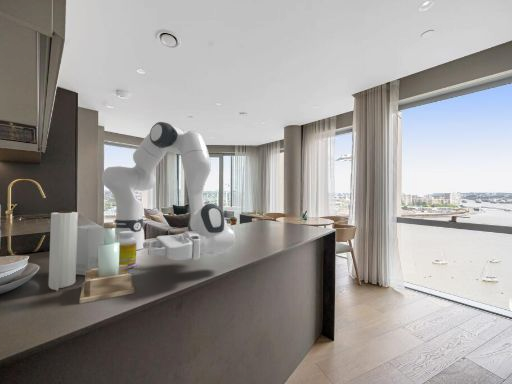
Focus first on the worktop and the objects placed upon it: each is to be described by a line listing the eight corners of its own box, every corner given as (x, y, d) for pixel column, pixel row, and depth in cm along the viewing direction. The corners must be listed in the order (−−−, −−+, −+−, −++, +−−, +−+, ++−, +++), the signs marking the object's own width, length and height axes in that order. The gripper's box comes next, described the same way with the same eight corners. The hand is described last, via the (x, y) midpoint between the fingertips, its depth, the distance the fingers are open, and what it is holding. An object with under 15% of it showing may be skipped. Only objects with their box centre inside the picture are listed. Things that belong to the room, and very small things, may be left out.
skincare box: (104, 270, 80) (106, 225, 80) (86, 276, 74) (87, 228, 74) (86, 267, 83) (87, 224, 83) (67, 273, 76) (68, 226, 76)
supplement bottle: (138, 267, 85) (139, 232, 85) (118, 271, 80) (119, 234, 80) (132, 263, 89) (133, 230, 90) (112, 266, 85) (114, 231, 85)
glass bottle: (93, 287, 64) (95, 223, 64) (111, 281, 69) (113, 221, 69) (104, 291, 62) (106, 224, 62) (122, 284, 66) (123, 222, 66)
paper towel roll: (62, 280, 71) (65, 210, 71) (80, 281, 70) (83, 211, 70) (38, 290, 63) (40, 212, 64) (58, 291, 63) (60, 213, 63)
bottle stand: (129, 278, 73) (130, 263, 73) (134, 293, 64) (134, 274, 64) (82, 286, 67) (83, 269, 67) (79, 303, 57) (80, 283, 57)
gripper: (181, 230, 87) (141, 232, 79) (201, 240, 70) (152, 244, 62) (181, 247, 87) (140, 251, 79) (200, 261, 70) (151, 268, 62)
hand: (145, 248), depth 70 cm, fingers open, 8 cm apart
